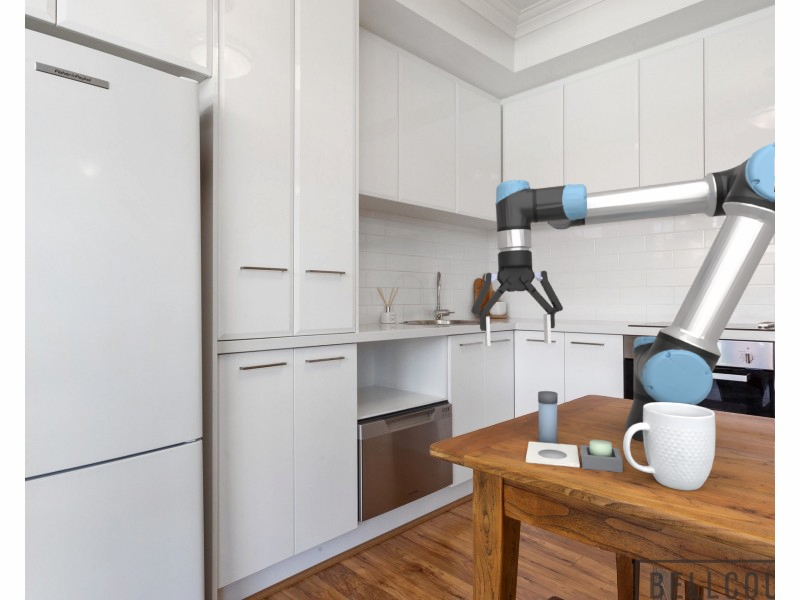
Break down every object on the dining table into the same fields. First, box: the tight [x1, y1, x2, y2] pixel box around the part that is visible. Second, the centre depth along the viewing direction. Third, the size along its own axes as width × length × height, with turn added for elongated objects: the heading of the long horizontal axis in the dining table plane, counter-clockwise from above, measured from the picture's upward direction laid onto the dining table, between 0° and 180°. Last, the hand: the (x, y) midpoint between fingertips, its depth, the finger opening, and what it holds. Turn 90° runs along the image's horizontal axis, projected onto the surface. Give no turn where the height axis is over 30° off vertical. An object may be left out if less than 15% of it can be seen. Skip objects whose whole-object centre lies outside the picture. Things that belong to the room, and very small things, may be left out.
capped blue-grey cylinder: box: [537, 390, 559, 444], centre depth 109 cm, size 4×4×11 cm
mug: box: [622, 402, 717, 491], centre depth 85 cm, size 15×11×13 cm
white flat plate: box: [525, 440, 581, 468], centre depth 100 cm, size 10×12×1 cm
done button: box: [589, 439, 613, 457], centre depth 95 cm, size 4×4×3 cm
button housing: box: [580, 444, 624, 474], centre depth 95 cm, size 7×7×2 cm
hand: (517, 344), depth 110 cm, fingers open, 13 cm apart
